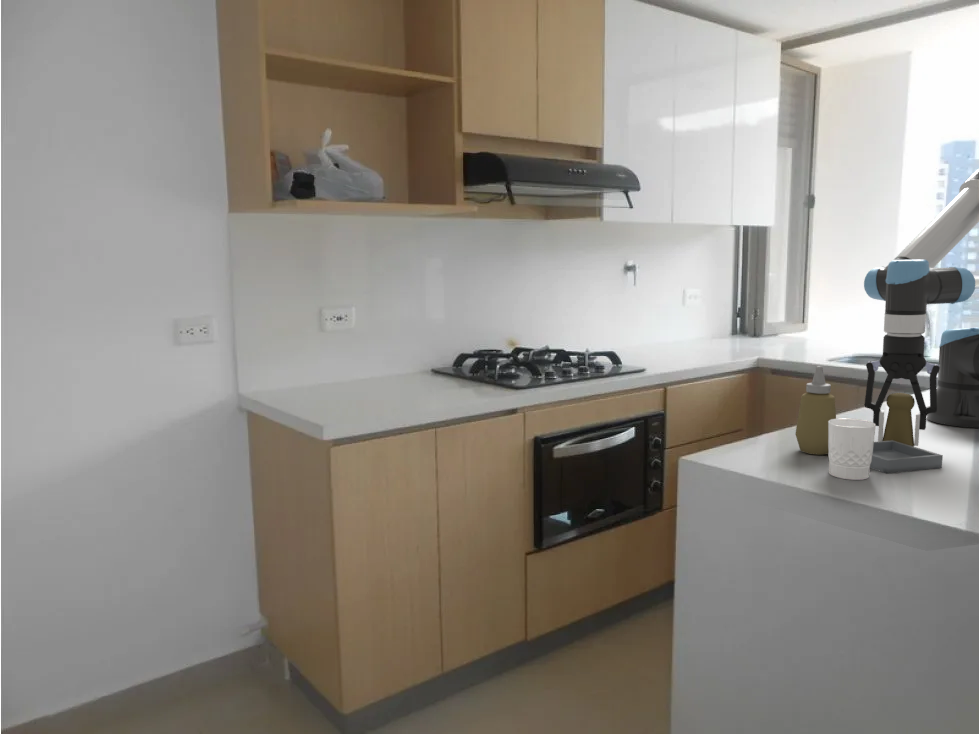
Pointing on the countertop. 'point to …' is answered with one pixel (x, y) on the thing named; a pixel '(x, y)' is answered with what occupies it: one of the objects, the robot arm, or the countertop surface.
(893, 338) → the robot arm
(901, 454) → the tray
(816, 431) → the squeeze bottle
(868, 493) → the countertop surface
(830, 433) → the white cup
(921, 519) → the countertop surface
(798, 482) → the countertop surface
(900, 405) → the cork
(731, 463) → the countertop surface
